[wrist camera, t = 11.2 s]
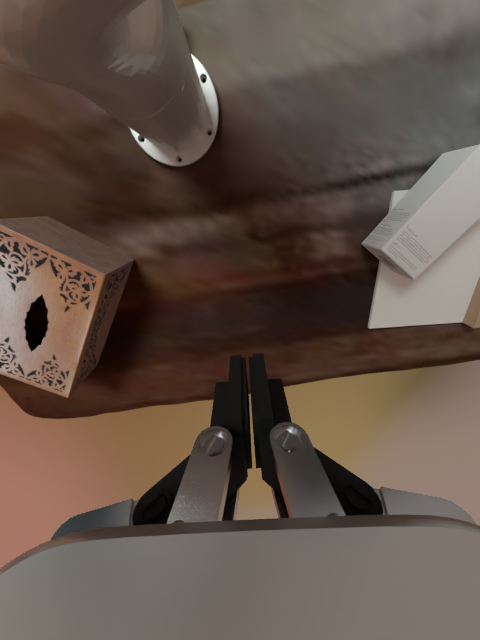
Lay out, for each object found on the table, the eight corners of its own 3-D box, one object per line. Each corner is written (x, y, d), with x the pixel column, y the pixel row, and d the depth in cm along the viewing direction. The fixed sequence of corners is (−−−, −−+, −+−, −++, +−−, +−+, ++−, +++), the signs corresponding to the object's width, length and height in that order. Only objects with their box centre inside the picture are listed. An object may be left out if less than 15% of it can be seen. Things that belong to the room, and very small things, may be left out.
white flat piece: (392, 191, 37) (404, 190, 34) (521, 179, 36) (544, 177, 33) (367, 327, 47) (375, 334, 44) (467, 320, 46) (481, 327, 44)
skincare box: (390, 271, 42) (472, 191, 36) (416, 282, 36) (519, 188, 30) (358, 242, 39) (441, 151, 34) (380, 248, 33) (485, 140, 28)
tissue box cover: (48, 216, 38) (-10, 219, 29) (134, 259, 41) (105, 274, 32) (27, 336, 48) (-22, 366, 39) (98, 364, 51) (68, 397, 42)
